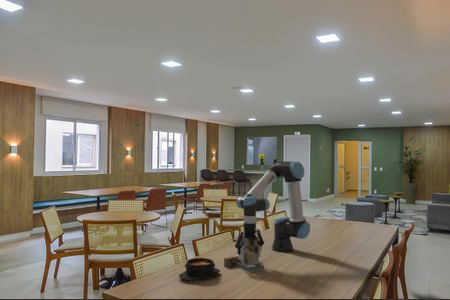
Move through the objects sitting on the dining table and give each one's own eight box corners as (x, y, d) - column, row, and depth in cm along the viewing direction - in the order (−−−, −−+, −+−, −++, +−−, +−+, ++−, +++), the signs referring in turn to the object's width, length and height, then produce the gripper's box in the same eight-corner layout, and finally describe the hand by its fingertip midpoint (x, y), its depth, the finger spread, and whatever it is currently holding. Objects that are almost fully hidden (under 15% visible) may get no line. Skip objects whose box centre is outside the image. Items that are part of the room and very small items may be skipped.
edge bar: (256, 260, 224) (256, 253, 224) (257, 261, 222) (257, 253, 222) (224, 266, 211) (224, 258, 212) (225, 267, 210) (225, 259, 210)
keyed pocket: (250, 263, 218) (250, 259, 218) (263, 269, 206) (263, 265, 206) (235, 266, 212) (235, 262, 212) (248, 272, 200) (248, 268, 201)
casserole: (205, 268, 208) (205, 254, 209) (227, 275, 195) (227, 260, 196) (171, 278, 191) (171, 262, 191) (193, 286, 177) (193, 270, 178)
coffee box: (255, 261, 213) (255, 235, 214) (258, 264, 207) (258, 237, 208) (240, 262, 211) (240, 236, 211) (244, 265, 205) (244, 238, 205)
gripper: (262, 219, 220) (262, 253, 219) (228, 223, 207) (228, 259, 206) (270, 221, 213) (270, 256, 212) (235, 225, 200) (235, 262, 200)
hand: (249, 258), depth 209 cm, fingers open, 13 cm apart
